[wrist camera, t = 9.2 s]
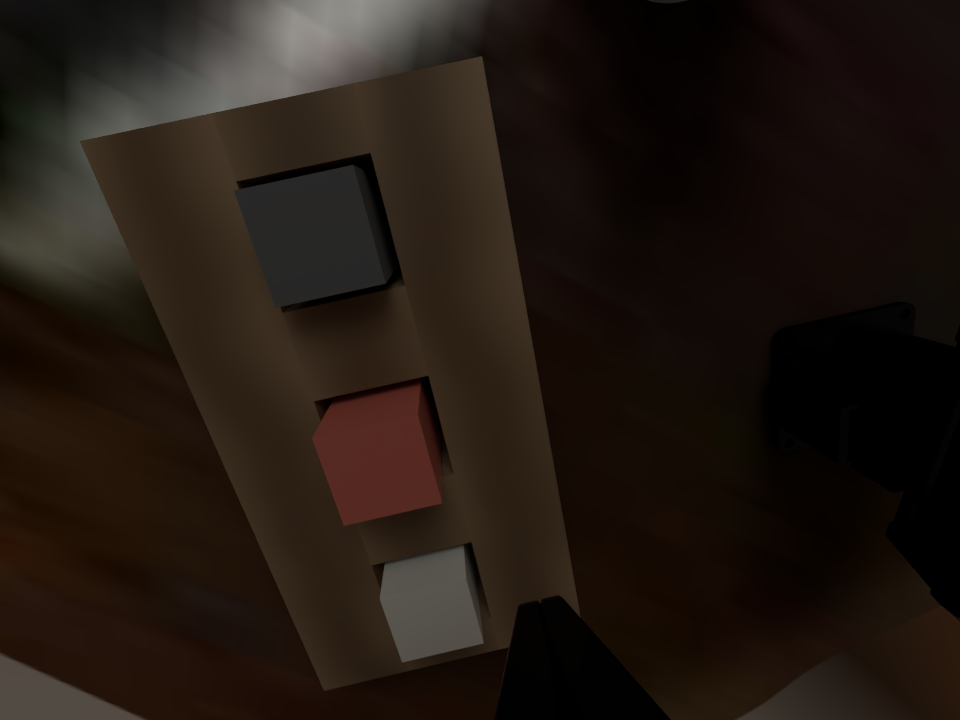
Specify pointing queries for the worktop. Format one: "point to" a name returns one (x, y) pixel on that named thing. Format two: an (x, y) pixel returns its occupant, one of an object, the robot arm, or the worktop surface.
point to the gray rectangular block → (319, 234)
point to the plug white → (432, 602)
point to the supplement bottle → (666, 1)
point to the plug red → (381, 451)
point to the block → (355, 345)
